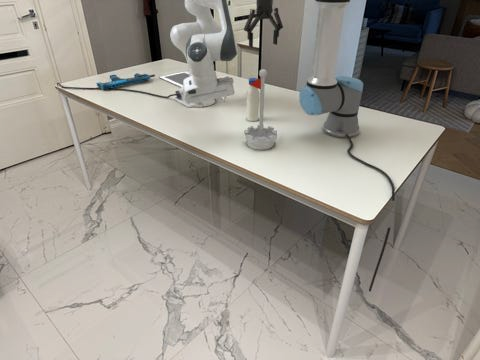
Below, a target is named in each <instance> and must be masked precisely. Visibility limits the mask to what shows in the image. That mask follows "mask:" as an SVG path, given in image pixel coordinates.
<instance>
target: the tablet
mask: <svg viewBox="0 0 480 360" xmlns="http://www.w3.org/2000/svg"><path fill="white" fill-rule="evenodd" d="M185 76H189V71H187V70H186V71H181V72H176V73H172V74H167V75H162V76H159V77H158V78H159V79H161V80H163V81H165V82H168V83H170V84H172V85H174V86H177V87H180V88H181V87H182V86H183V80H184V79H185V78H186V77H185Z"/></svg>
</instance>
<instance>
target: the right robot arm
mask: <svg viewBox="0 0 480 360" xmlns="http://www.w3.org/2000/svg"><path fill="white" fill-rule="evenodd" d="M273 3H274V0H256V3H255V5H256V9H254V8H250V9H249V15H248V18H247V20H246V23H245V25H244V27H243V31H245V32H247V37H246V38H247V40H248V47H249V48H254V32H253V31H254V29H255V28H256V26H257V25H258V23H259V21H261V20H268V21H269V22H270V23H271V25H272V26H273V28H274V29H273V35H272V36H273V38H272V44H273V45H275V46H277V45H278V38H279V37H280V31H281V29H283V28H284V25H283V23H282V19H281V17H280V14H279V8H278V7H275V6H274V7H273ZM350 3H351V0H315V4H316V5H317V6H318V14H317V21H316V22H317V23H316V31H315V41H314V49H313V59H312V69H311V75H310V76H309V77H308V78H306V84H305V86H303V87H302V88H301V89H300V91H299V94H298V99H299V103H300V106H301V108H302V110H303V112H304V113H305V114H307V115H308V116H321V115H324V114H328V115H327V117H326V120H325V121H324V123H323V126H322V130H323V132H324V133H325V134H326V135H329V136H332V137H335V138H339V139H341V138H342V139H347V140H348V141H349V143H350V146H349V148H348V149H347V154H348V156H350V157H351V158H352V159H354V160H356V161H358V162H360V163H362V164H364V165H366V166H367V167H369V168H372V169H375V170H376V171H378V172H380V173H381V174H382V175H384V176H385V177H386V179H387V180H388V182H389V184H390V187H391V201H393V202H394V201H395V198H396V197H395V195H396V194H395V191H396V188H395V185H394V182H393V180H392V179H391V177H390V176H389V175H388V174H387V172H385V171H384V170H382V169H381V168H379V167H377V166H375V165H373V164H370V163H368V162H367V161H364V160H363V159H361V158H359V157H357V156H355V155H353V153H351V150H352V148H353V147H354V143H353V141H352V139H351V138H354V137H356V136H357V135H359V132H360V125H359V118H358V117H359V116H358V114H359V111H360V110H359V109H360V105H361V101H362V96H363V92H364V91H363V89H364V82H363V81H362V80H361V79H359V78H356V77H353V76H346V75H336V76H335V72H336V67H337V59H338V53H339V46H340V41H341V33H342V28H343V27H342V26H343V19H344V12H345V8H346V7H347V6H348V5H349V4H350ZM272 14H273V15H272ZM390 232H391V226H389V227H387V230H386V234H385V237H384V241H383V243H382V244H383V245H382V248H381V250H380V254H379V258H378V260H377V264H376V266H375V269H374V272H373V275H372V278H371V282H370V284H369V288H368V291H369V292H372V289H373V285H374V282H375V279H376V277H377V273H378V270H379V268H380V264H381V261H382V258H383V256H384V253H385V249H386V245H387V244H388V239H389V235H390Z"/></svg>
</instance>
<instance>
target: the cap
mask: <svg viewBox="0 0 480 360" xmlns="http://www.w3.org/2000/svg"><path fill="white" fill-rule="evenodd" d="M258 79H259V78H257V77H250V78H248V85H249V86H250V84H252V83H253V82H255V81H256V80H258Z"/></svg>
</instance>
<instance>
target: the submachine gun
mask: <svg viewBox="0 0 480 360" xmlns="http://www.w3.org/2000/svg"><path fill="white" fill-rule="evenodd" d="M154 77H156V74H147V73H142V74H141V73H139V72H137V73H135V74H133V77H128V78H121V77H119V76H118V75H117V74H110V75H109V79H111V81H107V82H96V83H95V84H96V87H97V88H101V89H100V90H102V91H103V90H104V91H105V90H106V89H108V88H114V89H115V88H116V89H117V88H120V87H122V86H127V85H133V84H138V83H142V82H148V81H149V80H150V79H151V78H154Z"/></svg>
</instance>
